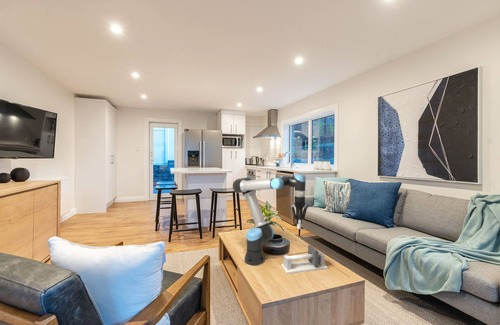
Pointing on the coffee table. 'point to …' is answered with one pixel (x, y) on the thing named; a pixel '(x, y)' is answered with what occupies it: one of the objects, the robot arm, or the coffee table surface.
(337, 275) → the coffee table surface
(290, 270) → the pipe stand
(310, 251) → the collar
